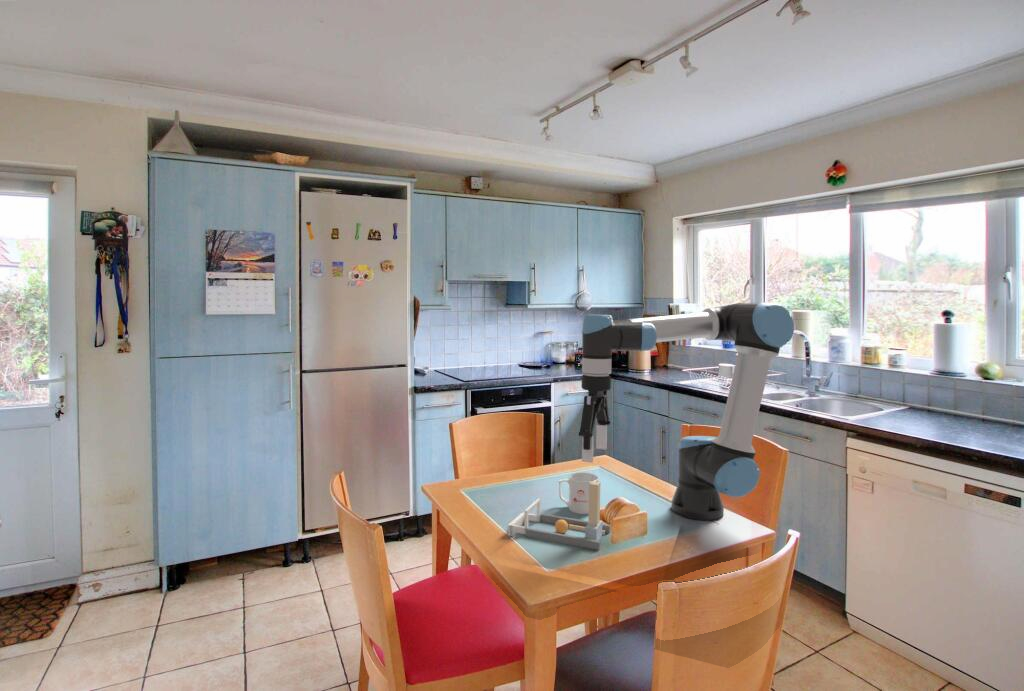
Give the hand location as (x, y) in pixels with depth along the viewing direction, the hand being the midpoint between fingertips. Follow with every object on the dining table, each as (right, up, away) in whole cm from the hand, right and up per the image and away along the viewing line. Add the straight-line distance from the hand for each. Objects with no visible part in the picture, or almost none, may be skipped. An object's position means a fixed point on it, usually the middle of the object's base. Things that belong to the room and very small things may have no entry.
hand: (594, 455), depth 142 cm
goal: (-18, -23, +10) cm, 31 cm away
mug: (-1, -22, +23) cm, 32 cm away
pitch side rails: (-6, -24, +5) cm, 25 cm away
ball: (-8, -20, +5) cm, 23 cm away
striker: (0, -22, +2) cm, 23 cm away
